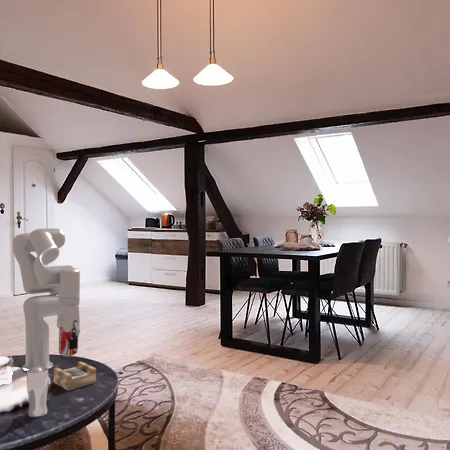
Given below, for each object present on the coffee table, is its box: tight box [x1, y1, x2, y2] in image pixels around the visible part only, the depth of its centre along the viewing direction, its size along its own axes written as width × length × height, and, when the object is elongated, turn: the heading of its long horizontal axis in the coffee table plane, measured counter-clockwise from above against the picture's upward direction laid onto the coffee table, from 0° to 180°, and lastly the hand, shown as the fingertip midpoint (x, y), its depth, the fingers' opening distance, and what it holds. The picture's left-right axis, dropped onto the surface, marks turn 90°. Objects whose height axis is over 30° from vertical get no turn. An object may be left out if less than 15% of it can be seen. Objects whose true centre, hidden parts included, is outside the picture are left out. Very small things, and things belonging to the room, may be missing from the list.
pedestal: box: [53, 360, 97, 391], centre depth 185 cm, size 12×12×6 cm
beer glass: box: [26, 367, 50, 418], centre depth 156 cm, size 7×7×15 cm
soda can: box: [58, 326, 79, 357], centre depth 177 cm, size 7×7×12 cm
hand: (68, 345), depth 177 cm, fingers closed on soda can, 7 cm apart
